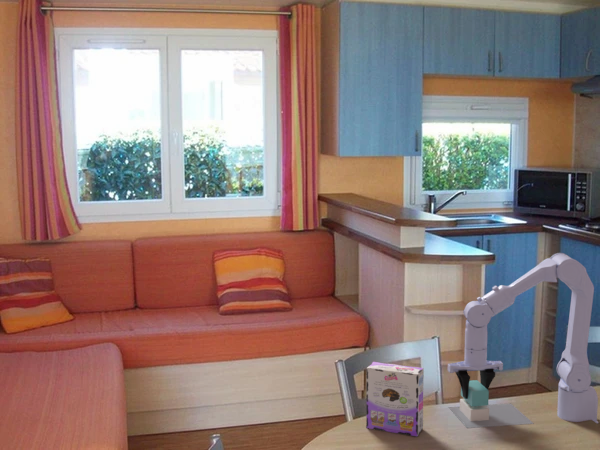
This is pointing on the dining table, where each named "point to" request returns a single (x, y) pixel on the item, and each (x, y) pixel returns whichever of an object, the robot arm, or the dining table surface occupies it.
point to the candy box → (394, 398)
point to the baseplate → (489, 415)
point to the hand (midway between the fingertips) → (474, 396)
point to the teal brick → (477, 394)
